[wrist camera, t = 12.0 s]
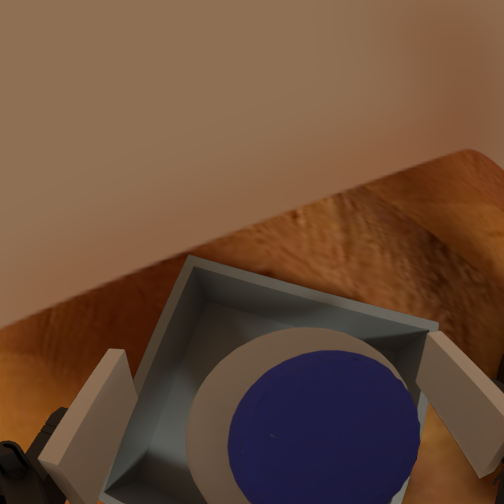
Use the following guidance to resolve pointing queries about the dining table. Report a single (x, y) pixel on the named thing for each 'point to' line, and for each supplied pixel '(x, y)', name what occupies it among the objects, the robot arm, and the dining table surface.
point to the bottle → (302, 423)
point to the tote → (220, 346)
